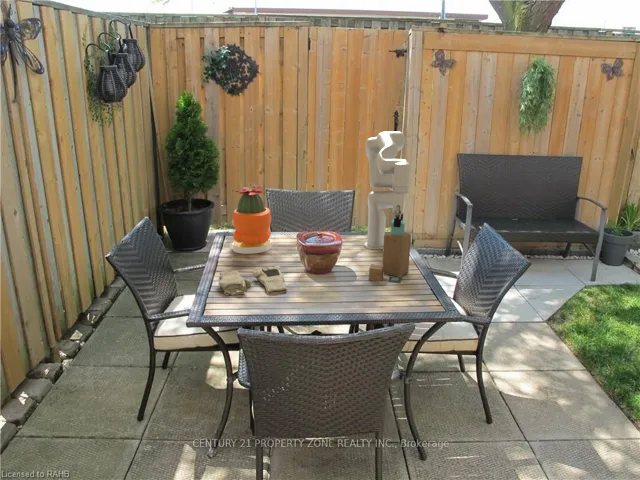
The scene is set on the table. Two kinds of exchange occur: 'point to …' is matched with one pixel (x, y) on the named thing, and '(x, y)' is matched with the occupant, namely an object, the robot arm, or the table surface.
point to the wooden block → (396, 254)
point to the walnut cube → (376, 272)
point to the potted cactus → (251, 223)
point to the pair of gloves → (238, 284)
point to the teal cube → (398, 228)
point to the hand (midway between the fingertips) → (398, 224)
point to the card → (394, 279)
